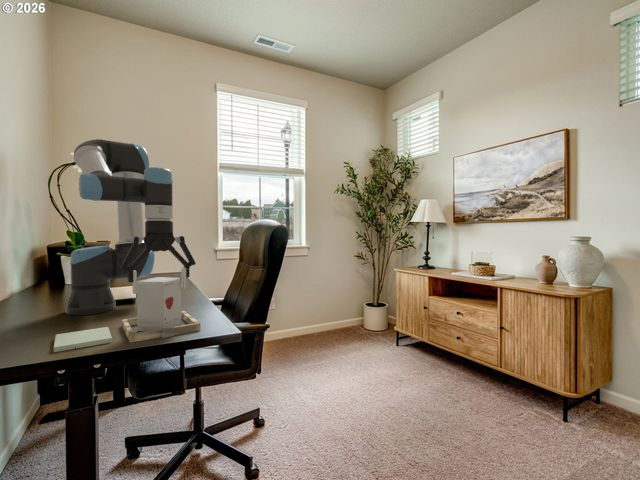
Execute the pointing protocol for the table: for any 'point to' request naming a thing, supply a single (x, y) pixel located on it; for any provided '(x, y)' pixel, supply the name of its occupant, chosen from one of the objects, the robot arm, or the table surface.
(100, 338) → the coaster pad
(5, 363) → the table surface
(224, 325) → the table surface
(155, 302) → the supplement box
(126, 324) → the birch collar
